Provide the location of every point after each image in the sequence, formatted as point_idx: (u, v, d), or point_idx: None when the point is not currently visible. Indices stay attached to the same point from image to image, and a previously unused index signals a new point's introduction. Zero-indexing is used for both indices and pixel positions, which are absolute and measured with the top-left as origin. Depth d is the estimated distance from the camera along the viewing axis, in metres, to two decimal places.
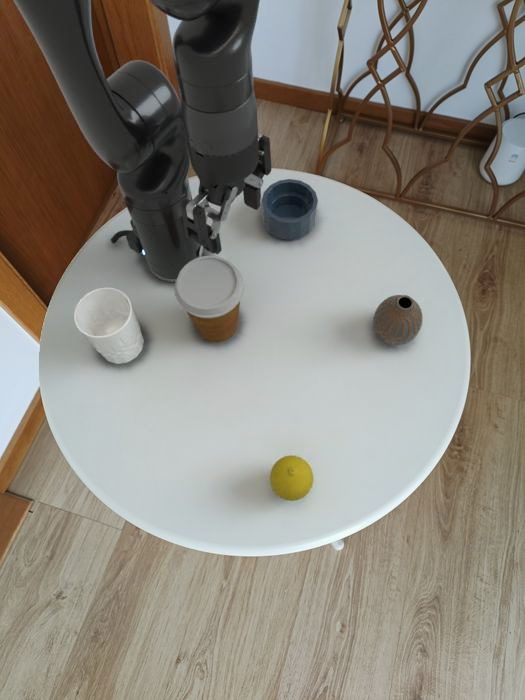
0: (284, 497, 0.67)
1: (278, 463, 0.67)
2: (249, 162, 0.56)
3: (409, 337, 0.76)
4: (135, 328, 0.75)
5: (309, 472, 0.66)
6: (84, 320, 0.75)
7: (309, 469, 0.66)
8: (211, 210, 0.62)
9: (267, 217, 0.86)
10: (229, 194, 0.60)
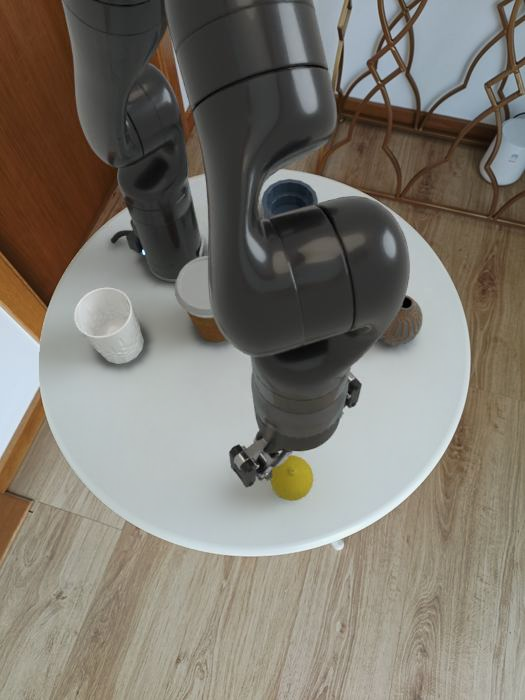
0: (284, 497, 0.67)
1: None
2: (323, 439, 0.44)
3: (409, 337, 0.76)
4: (135, 328, 0.75)
5: (309, 472, 0.66)
6: (84, 320, 0.75)
7: (309, 469, 0.66)
8: None
9: None
10: None
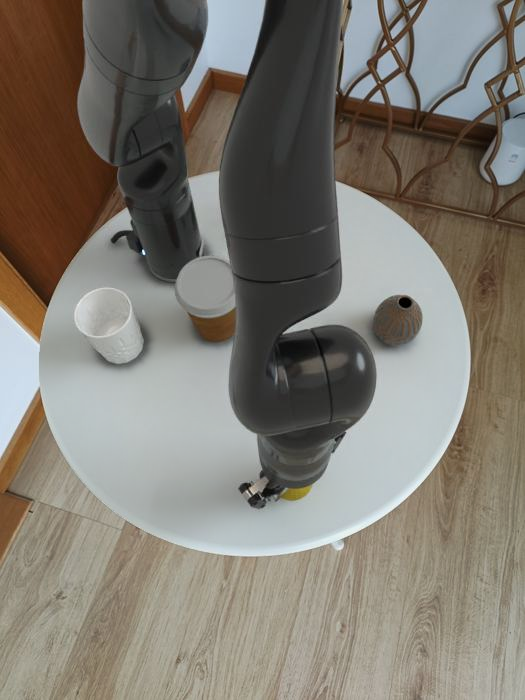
0: (284, 497, 0.67)
1: None
2: (314, 480, 0.54)
3: (409, 337, 0.76)
4: (135, 328, 0.75)
5: None
6: (84, 320, 0.75)
7: None
8: None
9: None
10: None
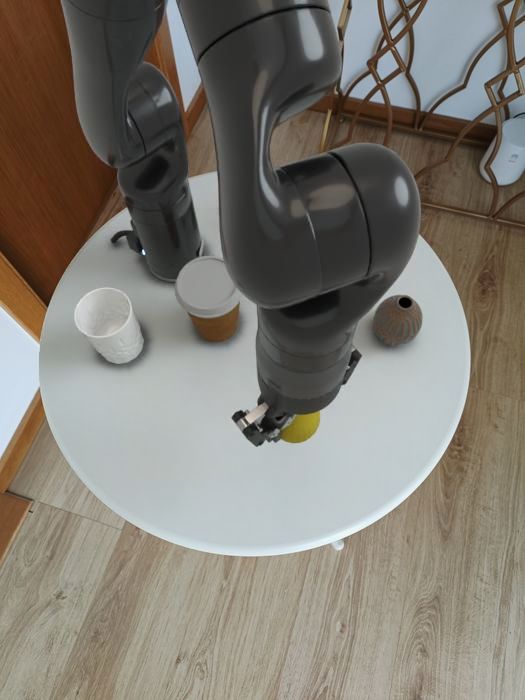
0: (286, 437, 0.57)
1: None
2: (325, 402, 0.44)
3: (409, 337, 0.76)
4: (135, 328, 0.75)
5: None
6: (84, 320, 0.75)
7: None
8: None
9: None
10: None
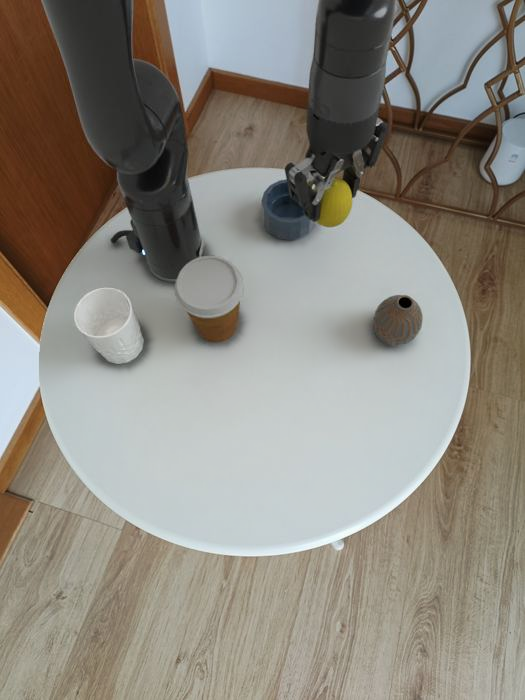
0: (324, 215, 0.68)
1: None
2: (362, 137, 0.56)
3: (409, 337, 0.76)
4: (135, 328, 0.75)
5: (349, 189, 0.68)
6: (84, 320, 0.75)
7: (349, 187, 0.68)
8: (317, 177, 0.64)
9: (267, 217, 0.86)
10: (334, 166, 0.61)
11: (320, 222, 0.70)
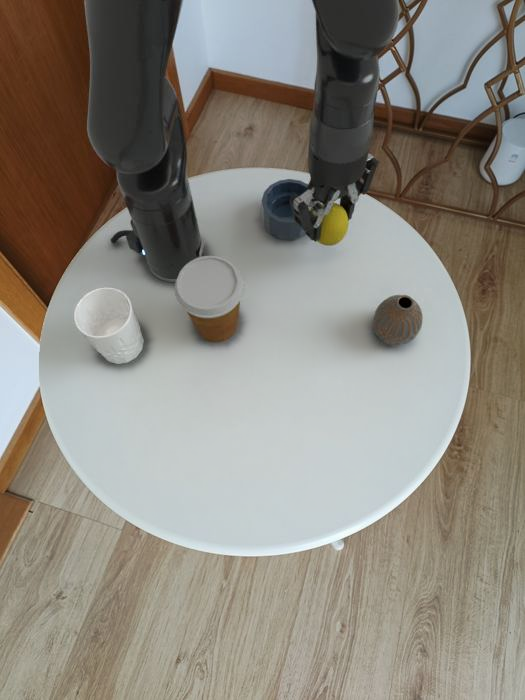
0: (324, 235, 0.79)
1: None
2: (355, 173, 0.66)
3: (409, 337, 0.76)
4: (135, 328, 0.75)
5: (345, 213, 0.78)
6: (84, 320, 0.75)
7: (345, 211, 0.79)
8: (317, 204, 0.74)
9: (267, 217, 0.86)
10: (331, 196, 0.71)
11: (320, 241, 0.80)
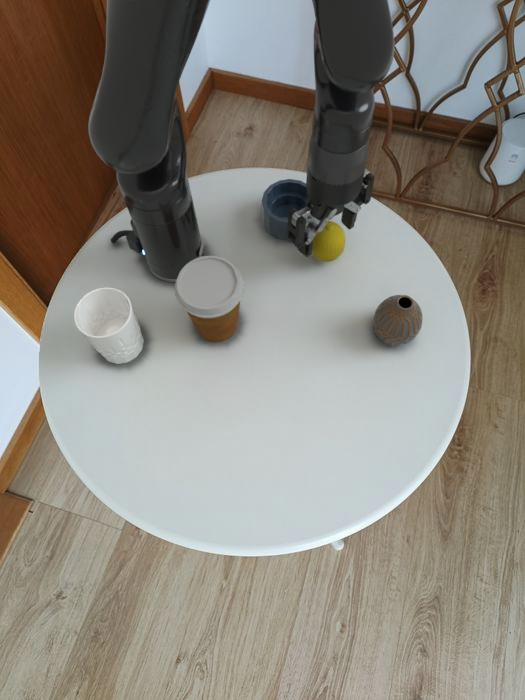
0: (322, 253, 0.82)
1: None
2: (351, 193, 0.70)
3: (409, 337, 0.76)
4: (135, 328, 0.75)
5: (342, 231, 0.82)
6: (84, 320, 0.75)
7: (342, 230, 0.82)
8: (311, 221, 0.77)
9: (267, 217, 0.86)
10: (329, 213, 0.74)
11: (319, 258, 0.84)
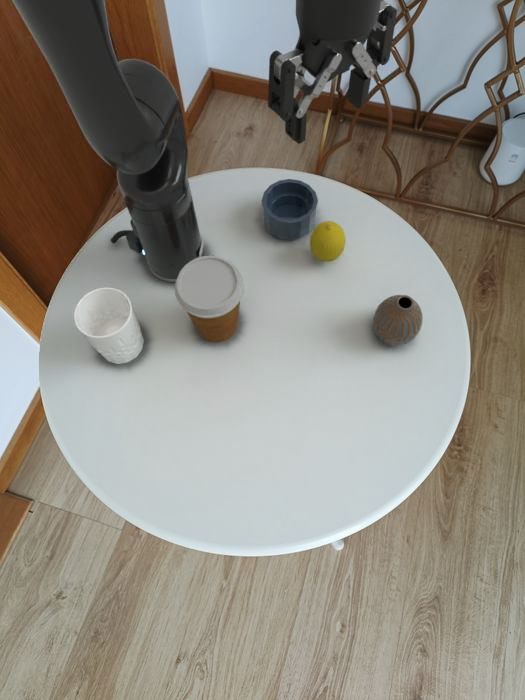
0: (322, 253, 0.82)
1: (317, 225, 0.82)
2: (364, 16, 0.46)
3: (409, 337, 0.76)
4: (135, 328, 0.75)
5: (342, 231, 0.82)
6: (84, 320, 0.75)
7: (342, 230, 0.82)
8: (304, 81, 0.53)
9: (267, 217, 0.86)
10: (330, 61, 0.50)
11: (319, 258, 0.84)
